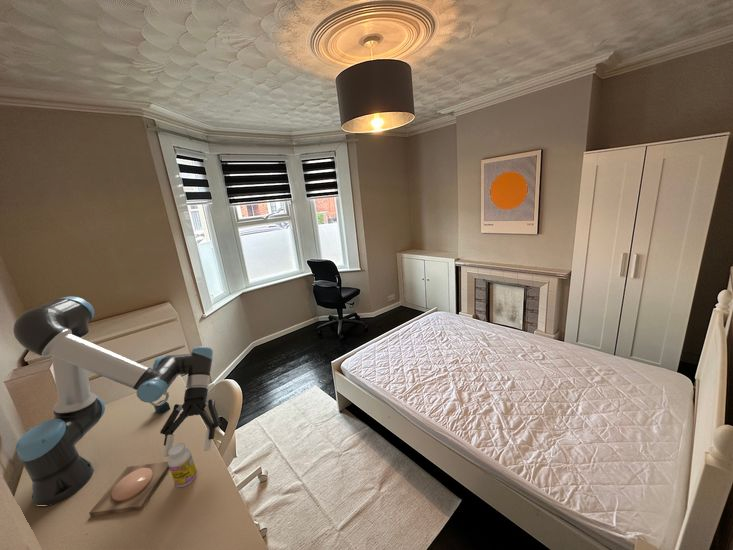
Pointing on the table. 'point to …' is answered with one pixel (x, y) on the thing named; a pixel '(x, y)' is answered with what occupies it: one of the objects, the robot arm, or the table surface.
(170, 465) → the supplement bottle
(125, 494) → the pink dome
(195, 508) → the table surface
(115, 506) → the square brown tray
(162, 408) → the watch
